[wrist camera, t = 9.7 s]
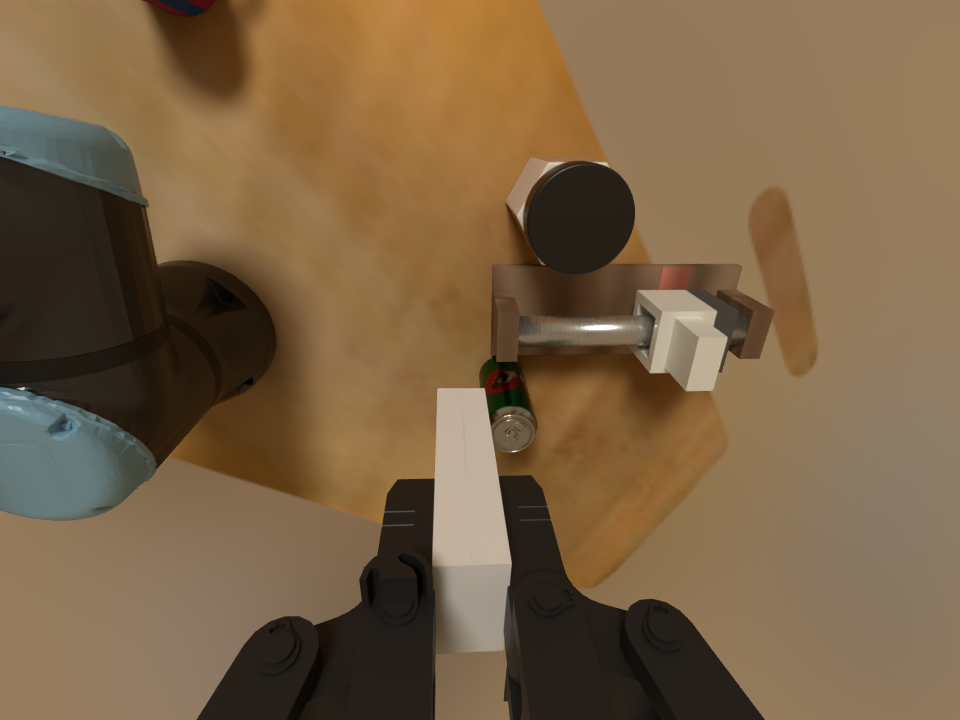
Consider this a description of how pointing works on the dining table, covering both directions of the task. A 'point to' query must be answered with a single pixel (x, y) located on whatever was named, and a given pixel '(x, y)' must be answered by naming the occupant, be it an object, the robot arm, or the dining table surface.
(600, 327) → the pipe
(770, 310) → the stand
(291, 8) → the dining table surface
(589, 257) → the jar
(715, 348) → the sleeve
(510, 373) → the soda can
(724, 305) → the dark grey square collar
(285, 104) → the dining table surface
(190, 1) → the mug
